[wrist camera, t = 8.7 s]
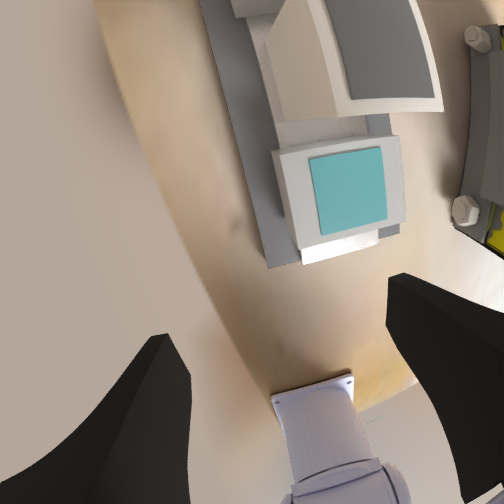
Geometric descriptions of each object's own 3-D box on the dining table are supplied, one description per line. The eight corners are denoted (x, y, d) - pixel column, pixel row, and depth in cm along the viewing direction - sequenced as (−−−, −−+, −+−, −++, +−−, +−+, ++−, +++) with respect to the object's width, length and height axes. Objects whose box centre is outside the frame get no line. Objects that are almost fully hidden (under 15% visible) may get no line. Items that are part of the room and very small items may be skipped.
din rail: (374, 240, 17) (378, 243, 16) (300, 260, 17) (303, 264, 16) (299, -63, 8) (302, -68, 7) (218, -58, 8) (218, -63, 7)
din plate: (392, 227, 18) (399, 233, 17) (266, 261, 18) (268, 268, 17) (324, -55, 9) (329, -61, 8) (186, -44, 9) (184, -51, 8)
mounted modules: (383, 208, 15) (406, 222, 13) (288, 231, 15) (299, 250, 13) (321, -46, 8) (335, -65, 6) (217, -39, 8) (217, -62, 6)
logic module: (356, 111, 13) (447, 112, 6) (284, 121, 13) (340, 117, 6) (338, 35, 11) (414, -11, 4) (264, 41, 11) (300, -25, 5)
